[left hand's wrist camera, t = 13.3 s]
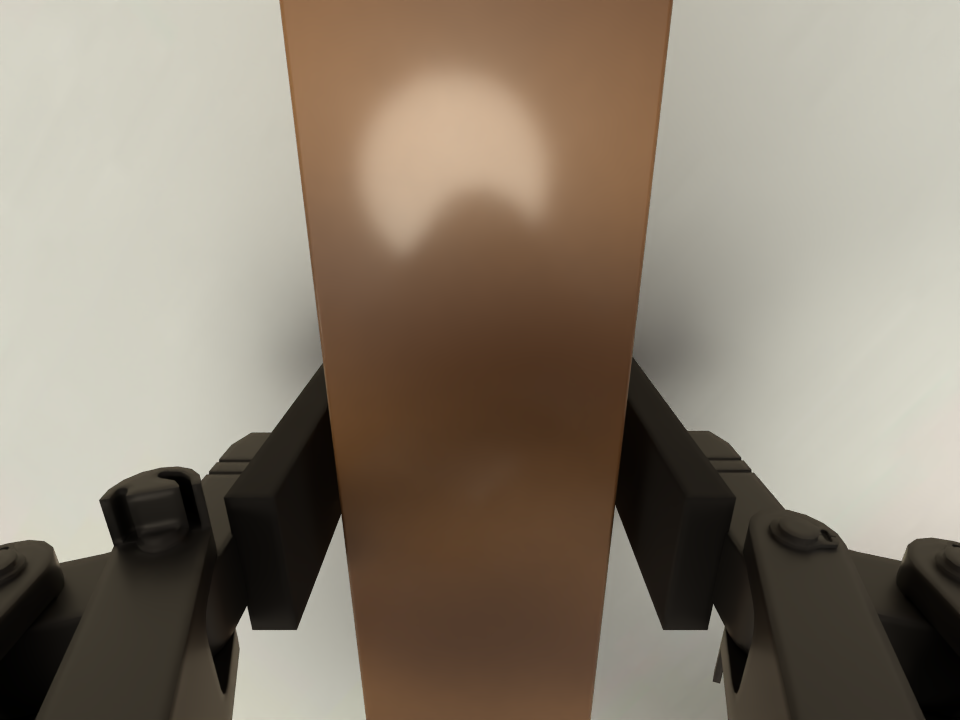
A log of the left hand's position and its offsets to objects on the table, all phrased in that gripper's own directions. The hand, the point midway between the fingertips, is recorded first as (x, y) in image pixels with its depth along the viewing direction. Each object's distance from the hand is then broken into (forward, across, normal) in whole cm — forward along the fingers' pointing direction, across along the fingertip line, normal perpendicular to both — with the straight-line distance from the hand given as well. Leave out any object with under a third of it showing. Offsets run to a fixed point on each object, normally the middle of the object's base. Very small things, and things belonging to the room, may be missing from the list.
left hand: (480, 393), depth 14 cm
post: (+2, 0, -29) cm, 29 cm away
